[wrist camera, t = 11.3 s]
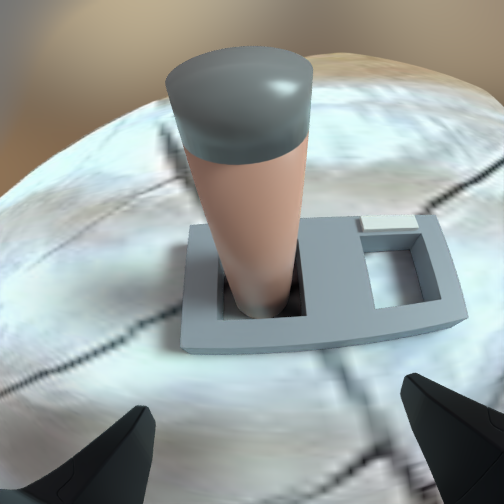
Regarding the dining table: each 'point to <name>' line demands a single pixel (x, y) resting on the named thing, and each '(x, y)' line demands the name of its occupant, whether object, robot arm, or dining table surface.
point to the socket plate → (326, 289)
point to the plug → (248, 161)
